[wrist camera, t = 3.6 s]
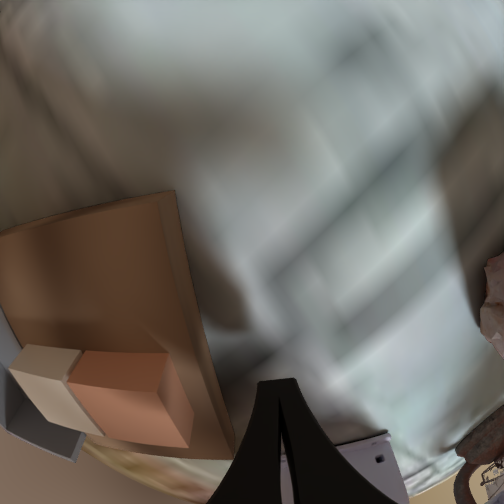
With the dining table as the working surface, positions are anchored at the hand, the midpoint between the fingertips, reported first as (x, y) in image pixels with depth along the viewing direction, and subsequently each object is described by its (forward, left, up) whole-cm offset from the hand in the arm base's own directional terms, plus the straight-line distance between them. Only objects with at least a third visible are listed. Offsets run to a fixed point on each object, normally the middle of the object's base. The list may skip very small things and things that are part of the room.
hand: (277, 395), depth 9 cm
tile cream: (+10, 0, -1) cm, 10 cm away
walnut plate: (+8, 0, -3) cm, 8 cm away
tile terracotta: (+6, 0, -1) cm, 6 cm away
